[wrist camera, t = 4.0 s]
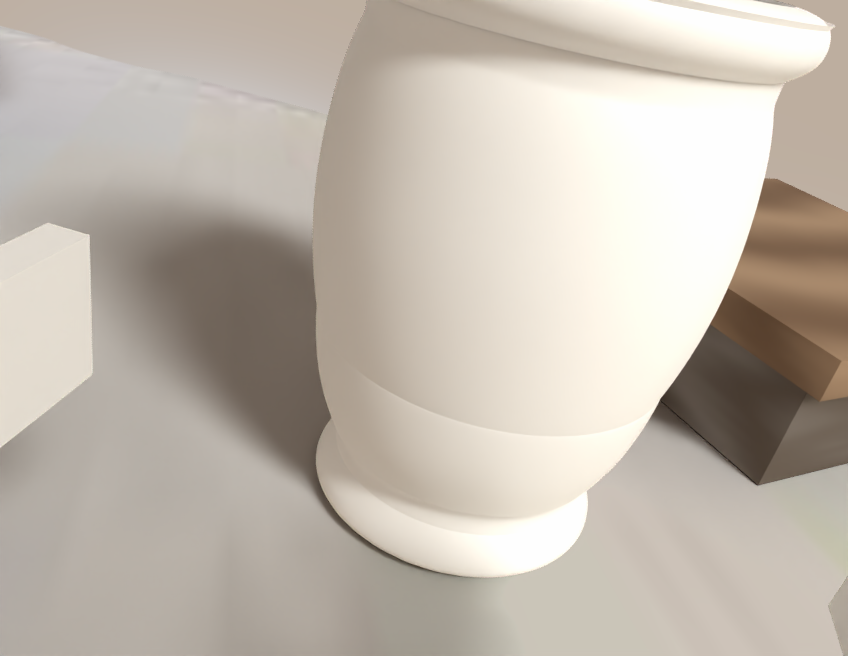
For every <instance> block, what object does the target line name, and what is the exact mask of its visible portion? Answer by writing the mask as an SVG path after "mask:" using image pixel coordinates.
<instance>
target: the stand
mask: <svg viewBox="0 0 848 656" xmlns="http://www.w3.org/2000/svg"><path fill="white" fill-rule="evenodd" d="M660 400H661V401H662V402H663V403H664V404H665V405H666V406H668V407H669V408H670V409H671V410H672V411H673V412H675V413H676V414H677V415H678V416H679V417H680V418H681V419H683V420H684V421H685V422H686V423H687V424H688V425H689V426H691V427H692V428H693V429H694V430H695V431H696V432H698V433H699V434H700V435H701V436H702V437H703V438H704V439H706V440H707V441H708V442H709V443H710V444H711V445H712V446H714V447H715V448H716V449H717V450H718V451H719V452H720V453H722V454H723V455H724V456H725V457H726V458H727V459H729V460H730V461H731V462H732V463H733V464H734V465H735V466H737V467H738V468H739V469H740V470H741V471H742V472H743V473H745V474H746V475H747V476H748V477H749V478H750V479H752V480H753V481H754V482H755V483H756V484H757V485H761V484H765V483H769V482H773V481H777V480H782V479H786V478H790V477H794V476H798V475H802V474H806V473H810V472H814V471H818V470H822V469H826V468H830V467H834V466H838V465H842V464H846V463H848V212H846V211H844V210H842V209H840V208H838V207H836V206H834V205H831V204H829V203H827V202H825V201H823V200H821V199H818V198H816V197H814V196H812V195H810V194H808V193H806V192H804V191H801V190H799V189H797V188H795V187H793V186H791V185H789V184H786V183H784V182H782V181H780V180H778V179H765V178H764V182H763V186H762V190H761V193H760V197H759V201H758V205H757V208H756V212H755V215H754V218H753V222H752V225H751V228H750V231H749V234H748V237H747V240H746V243H745V246H744V249H743V252H742V254H741V257H740V260H739V262H738V265H737V267H736V270H735V272H734V275H733V277H732V280H731V282H730V284H729V286H728V289H727V291H726V293H725V295H724V297H723V300H722V302H721V304H720V306H719V308H718V310H717V312H716V314H715V316H714V317H713V319H712V321H711V323H710V325H709V327H708V328H707V330H706V332H705V334H704V336H703V337H702V339H701V341H700V342H699V344H698V346H697V347H696V349H695V350H694V352H693V354H692V355H691V357H690V358H689V360H688V361H687V363H686V364H685V366H684V367H683V369H682V370H681V372H680V373H679V375H678V376H677V377H676V379H675V380H674V382H673V383H672V384H671V386H670V387H669V388H668V390H667V391H666V392H665V394H664V395H663V396H662V397H661V399H660Z"/></svg>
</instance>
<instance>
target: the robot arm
mask: <svg viewBox="0 0 848 656" xmlns="http://www.w3.org/2000/svg"><path fill="white" fill-rule="evenodd" d="M92 374H93V360H92V316H91V272H90V235H88V234H85V233H81V232H78V231H74V230H71V229H68V228H64V227H61V226H57V225H54V224H50V223H46V224H44V225H42V226H40V227H38V228H36V229H34V230H31V231H29V232H27V233H25V234H23V235H21V236H19V237H17V238H14V239H12V240H10V241H8V242H6V243H4V244H2V245H0V448H1V447H2V446H3V445H4V444H6V443H7V442H8V441H9V440H11V439H12V438H13V437H14V436H16V435H17V434H18V433H19V432H21V431H22V430H23V429H24V428H26V427H27V426H28V425H30V424H31V423H32V422H33V421H35V420H36V419H37V418H38V417H40V416H41V415H42V414H43V413H45V412H46V411H47V410H48V409H50V408H51V407H52V406H53V405H55V404H56V403H57V402H58V401H60V400H61V399H62V398H63V397H65V396H66V395H67V394H69V393H70V392H71V391H72V390H74V389H75V388H76V387H77V386H79V385H80V384H81V383H82V382H84V381H85V380H86V379H87V378H89V377H90V376H91V375H92ZM828 607H829V610H830V613H831V617H832V620H833V623H834V626H835V630H836V633H837V636H838V639H839V643H840V646H841V649H842V653H843V656H848V576H847V578H846V579H845V581H844V582H843V584H842V585H841V587H840V588H839V590H838V591H837V593H836V595H835V596H834V598H833V599H832V601H831V602H830V604H829V605H828Z"/></svg>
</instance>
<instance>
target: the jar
mask: <svg viewBox="0 0 848 656" xmlns="http://www.w3.org/2000/svg"><path fill="white" fill-rule="evenodd" d="M834 27H835V25H833V24H831V23H828V22H825V21H823V20H822V19H821V18H819V17H818V16H816V15H814V14H812V13H810V12H808V11H805V10H803V9H800V8H798V7H795V6H792V5H789V4H786V3H782V2H779V1H775V0H366V6H365V11H364V13H363V16H362V18H361V20H360V22H359V24H358V26H357V28H356V30H355V32H354V35H353V37H352V39H351V42H350V44H349V47H348V49H347V52H346V55H345V58H344V61H343V63H342V66H341V70H340V73H339V76H338V79H337V83H336V86H335V90H334V93H333V97H332V101H331V105H330V109H329V113H328V117H327V121H326V126H325V130H324V135H323V140H322V145H321V151H320V157H319V163H318V170H317V177H316V186H315V196H314V209H313V272H314V286H315V296H316V304H317V308H316V348H317V359H318V368H319V374H320V380H321V385H322V389H323V393H324V396H325V400H326V403H327V406H328V409H329V412H330V415H331V417H332V418H331V419H330V420H329V422H328V423H327V425H326V426H325V428H324V430H323V432H322V434H321V436H320V439H319V442H318V446H317V451H316V468H317V474H318V478H319V481H320V484H321V487H322V489H323V492H324V494H325V496H326V497H327V499H328V501H329V502H330V504H331V505H332V507H333V508H334V509H335V511H336V512H337V513H338V515H339V516H340V517H341V518H342V519H343V520H344V521H345V522H346V523H347V524H348V525H349V526H350V527H351V528H352V529H353V530H354V531H355V532H357V533H358V534H359V535H361V536H362V537H363V538H365V539H366V540H367V541H369V542H370V543H372V544H373V545H375V546H376V547H378V548H380V549H381V550H383V551H385V552H387V553H389V554H391V555H393V556H395V557H397V558H399V559H401V560H403V561H406V562H408V563H411V564H414V565H417V566H420V567H423V568H426V569H429V570H432V571H436V572H440V573H446V574H451V575H457V576H464V577H483V578H493V577H504V576H511V575H517V574H522V573H526V572H529V571H532V570H535V569H538V568H540V567H543V566H545V565H547V564H549V563H551V562H552V561H554V560H556V559H557V558H559V557H560V556H561V555H563V554H564V553H565V552H566V551H567V550H568V549H569V548H570V547H571V546H572V545H573V544H574V543H575V541H576V540H577V538H578V537H579V535H580V533H581V531H582V529H583V526H584V524H585V520H586V516H587V507H588V499H587V490H588V489H589V488H591V487H592V486H593V485H594V484H596V483H597V482H598V481H599V480H600V479H601V478H602V477H604V476H605V475H606V474H607V473H608V472H609V471H610V470H611V469H612V468H613V467H614V466H615V465H616V464H617V463H618V461H619V460H620V459H621V458H622V457H623V456H624V454H625V453H626V452H627V451H628V449H629V448H630V447H631V445H632V444H633V443H634V441H635V440H636V439H637V437H638V436H639V434H640V433H641V431H642V430H643V428H644V427H645V425H646V424H647V422H648V420H649V419H650V417H651V415H652V414H653V412H654V410H655V408H656V406H657V405H658V403H659V400H660V399H661V397H662V396H663V395H664V394H665V392H666V391H667V390H668V388H669V387H670V386H671V384H672V383H673V382H674V380H675V379H676V377H677V376H678V375H679V373H680V372H681V370H682V369H683V367H684V366H685V364H686V363H687V361H688V360H689V358H690V357H691V355H692V354H693V352H694V350H695V349H696V347H697V346H698V344H699V342H700V341H701V339H702V337H703V336H704V334H705V332H706V330H707V328H708V327H709V325H710V323H711V321H712V319H713V317H714V316H715V314H716V312H717V310H718V308H719V306H720V304H721V302H722V300H723V297H724V295H725V293H726V291H727V289H728V286H729V284H730V282H731V280H732V277H733V275H734V272H735V270H736V267H737V265H738V262H739V260H740V257H741V254H742V252H743V249H744V246H745V243H746V240H747V237H748V234H749V231H750V228H751V225H752V222H753V218H754V215H755V212H756V208H757V205H758V201H759V197H760V193H761V190H762V186H763V182H764V177H765V173H766V168H767V163H768V158H769V153H770V146H771V139H772V130H773V114H774V106H775V103H776V100H777V98H778V95H779V93H780V91H781V89H782V87H783V85H784V83H785V82H788V81H791V80H793V79H796V78H799V77H801V76H803V75H805V74H807V73H809V72H811V71H812V70H814V69H815V68H816V67H817V66H818V65H819V64H820V63H821V62H822V61H823V59H824V58H825V56H826V54H827V51H828V49H829V46H830V39H831V37H830V36H831V35H830V30H831V29H832V28H834Z"/></svg>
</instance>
